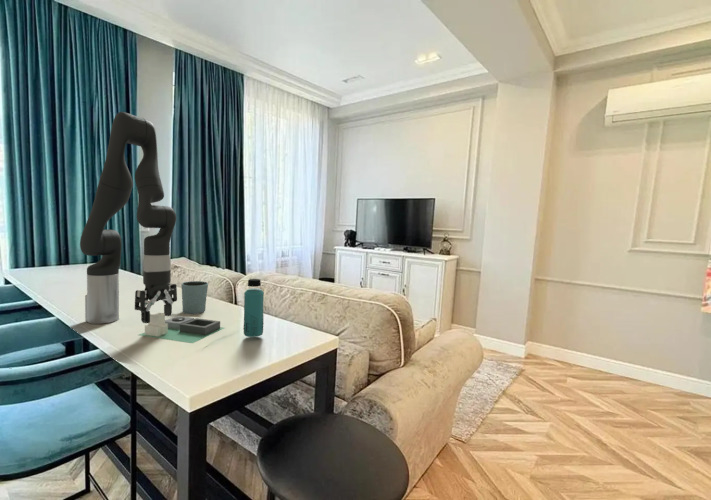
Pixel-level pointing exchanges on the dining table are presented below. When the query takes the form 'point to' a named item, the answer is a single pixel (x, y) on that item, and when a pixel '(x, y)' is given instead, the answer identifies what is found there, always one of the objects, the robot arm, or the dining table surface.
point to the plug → (156, 325)
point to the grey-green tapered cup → (194, 296)
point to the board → (188, 329)
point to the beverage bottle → (253, 309)
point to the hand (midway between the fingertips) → (157, 319)
